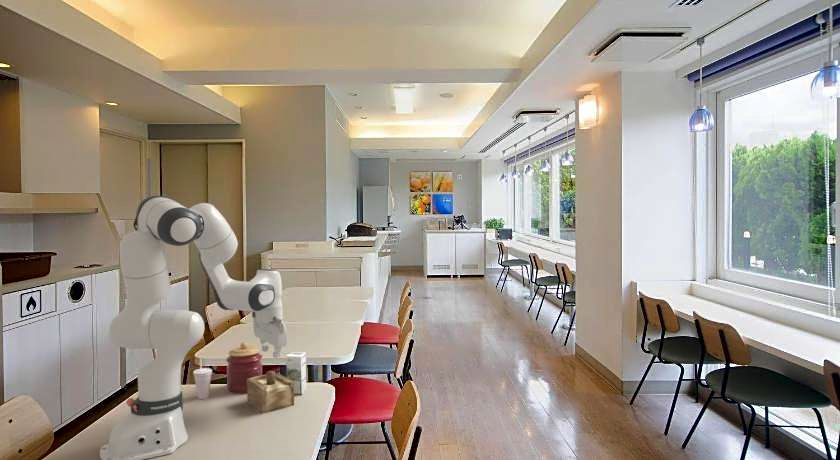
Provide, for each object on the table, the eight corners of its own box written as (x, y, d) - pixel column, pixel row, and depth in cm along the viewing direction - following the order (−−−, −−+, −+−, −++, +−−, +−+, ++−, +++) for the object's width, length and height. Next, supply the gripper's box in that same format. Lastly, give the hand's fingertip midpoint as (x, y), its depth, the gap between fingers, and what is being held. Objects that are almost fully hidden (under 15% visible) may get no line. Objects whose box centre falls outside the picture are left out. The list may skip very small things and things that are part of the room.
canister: (219, 391, 193) (218, 345, 193) (243, 380, 205) (242, 336, 204) (246, 396, 188) (245, 348, 188) (270, 384, 200) (269, 339, 199)
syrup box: (306, 389, 195) (306, 351, 194) (301, 395, 189) (301, 356, 188) (292, 389, 195) (291, 351, 195) (286, 394, 189) (285, 355, 189)
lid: (266, 394, 173) (266, 379, 173) (252, 384, 183) (251, 370, 182) (290, 388, 178) (289, 373, 178) (274, 379, 188) (274, 365, 188)
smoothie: (196, 394, 191) (195, 357, 190) (214, 393, 192) (213, 355, 191) (191, 400, 184) (190, 362, 184) (210, 399, 185) (209, 361, 185)
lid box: (263, 413, 172) (263, 389, 172) (247, 401, 183) (246, 378, 183) (294, 405, 179) (293, 381, 179) (276, 394, 190) (276, 372, 190)
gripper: (291, 318, 173) (292, 359, 174) (266, 308, 189) (267, 346, 190) (273, 321, 169) (274, 363, 170) (249, 311, 185) (250, 349, 186)
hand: (270, 354), depth 180 cm, fingers open, 8 cm apart
